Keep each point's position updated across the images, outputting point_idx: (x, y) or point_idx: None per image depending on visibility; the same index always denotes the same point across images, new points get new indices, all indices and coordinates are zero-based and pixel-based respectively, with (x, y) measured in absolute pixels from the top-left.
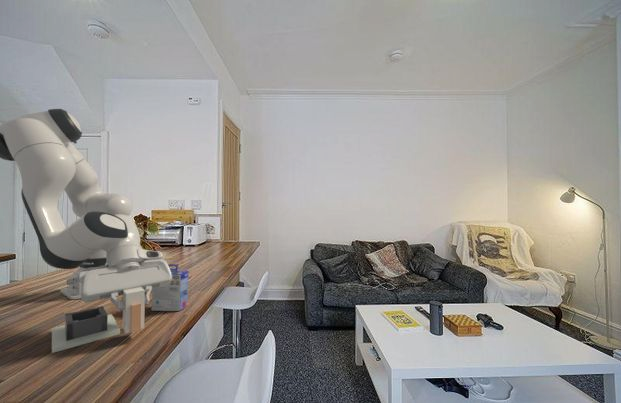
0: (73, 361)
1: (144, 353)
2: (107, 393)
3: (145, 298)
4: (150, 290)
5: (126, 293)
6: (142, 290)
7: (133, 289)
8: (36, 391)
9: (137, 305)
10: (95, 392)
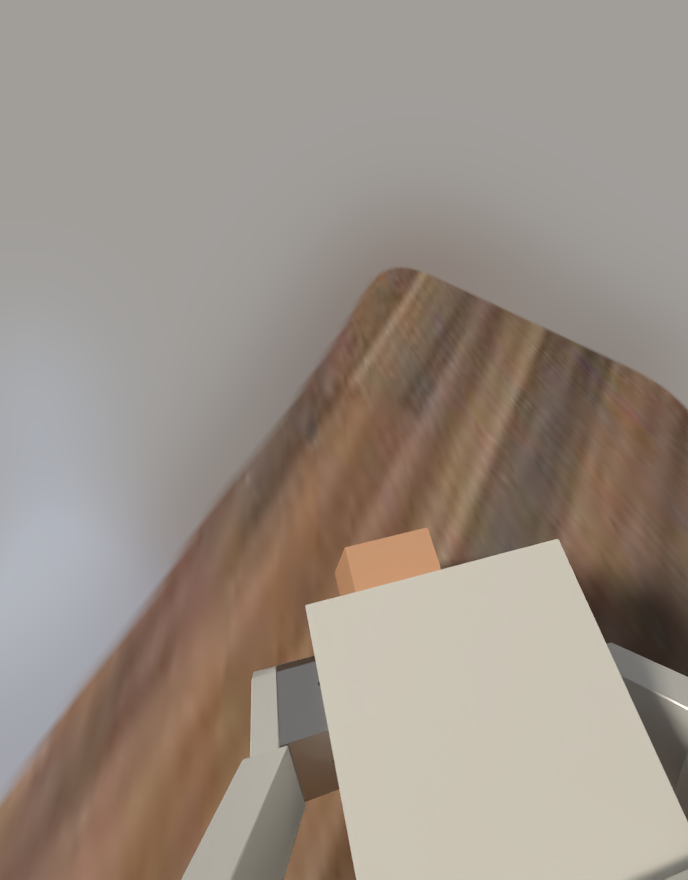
0: (579, 516)
1: (316, 431)
2: (405, 275)
3: (298, 695)
4: (202, 865)
5: (562, 559)
6: (340, 602)
7: (508, 791)
8: (601, 374)
9: (376, 541)
10: (436, 292)
